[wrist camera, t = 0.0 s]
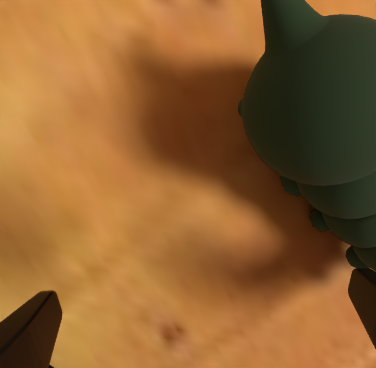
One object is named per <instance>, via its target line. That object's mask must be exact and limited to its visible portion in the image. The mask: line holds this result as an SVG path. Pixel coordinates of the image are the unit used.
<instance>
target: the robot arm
mask: <svg viewBox="0 0 376 368" xmlns="http://www.w3.org/2000/svg"><path fill="white" fill-rule="evenodd" d="M348 294H349V297H350V299H351V301H352V303H353V305H354V307H355V309H356V311H357V313H358V315H359V317H360V319H361V321H362V323H363V325H364V327H365V329H366V331H367V333H368V335H369V337H370V339H371V341H372V343H373V345H374V347H375V349H376V271H374V270H372V269H370V268H356V269H354V270H353V271H352V274H351V278H350V283H349V287H348ZM61 320H62V309H61V306H60V302H59V299H58V296H57V294H56V292H55V291H41V292H39V293H37V294H36V295H35V296H34V297H32V298H31V299H30V300H28V301H27V302H26V303H25V304H23V305H22V306H21V307H19V308H18V309H17V310H16V311H14V312H13V313H12V314H10V315H9V316H8V317H7V318H5V319H4V320H3V321H1V322H0V368H48V367H49V363H50V360H51V356H52V352H53V349H54V345H55V342H56V338H57V334H58V331H59V327H60V323H61Z"/></svg>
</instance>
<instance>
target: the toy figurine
mask: <svg viewBox="0 0 376 368" xmlns="http://www.w3.org/2000/svg"><path fill="white" fill-rule="evenodd" d="M261 7H262V16H263V25H264V34H265V53H264V54H263V55H262V57H261V58H260V60H259V61H258V63H257V64H256V66H255V68H254V70H253V72H252V74H251V76H250V79H249V81H248V84H247V87H246V90H245V93H244V97H243V99H242V100H241V101H240V102H239V105H238V112H239V114H240V116H241V117H242V118H243V124H244V128H245V132H246V135H247V137H248V139H249V141H250V143H251V145H252V146H253V148H254V149H255V151H256V152H257V154H258V156H259V157H260V158H261V159H262V160H263V162H264V163H265V164H266V165H268V166H269V167H270V168H271V169H273V170H274V171H275V172H277V173H278V174H280V175H282V176H281V181H282V185H283V188H284V191H286V192H287V193H289V194H290V195H293V196H296V197H300V196H303V197H304V198H305V199H306V200H307V202H308V203H309V204H310V205H311V206H313V207H314V208H316V210H314V211H313V212H312V214H311V216H310V220H311V223H312V227H314V228H315V229H317V230H319V231H328V230H331V231H332V232H333V234H334V235H335V236H337V237H338V238H339V239H341V240H342V241H344V242H345V243H347V244H349V245H351V246H350V247H349V248H348V249H347V251H346V258H347V260H348V262H349V263H350V265H351V266H353V267H355V268H371V269H373V270H375V271H376V20H374V19H372V18H368V17H363V16H359V15H344V14H339V15H329V16H322V15H320V14H319V13H318V12H316V11H315V10H314V9H313V8H312V7H311V6H310V5H309V4H308V3H307V2H306V1H305V0H261Z"/></svg>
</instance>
